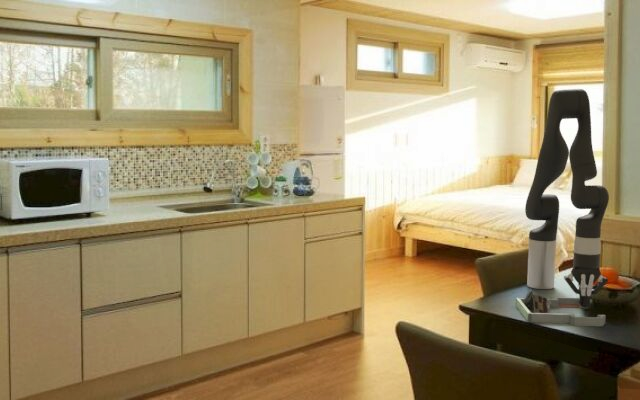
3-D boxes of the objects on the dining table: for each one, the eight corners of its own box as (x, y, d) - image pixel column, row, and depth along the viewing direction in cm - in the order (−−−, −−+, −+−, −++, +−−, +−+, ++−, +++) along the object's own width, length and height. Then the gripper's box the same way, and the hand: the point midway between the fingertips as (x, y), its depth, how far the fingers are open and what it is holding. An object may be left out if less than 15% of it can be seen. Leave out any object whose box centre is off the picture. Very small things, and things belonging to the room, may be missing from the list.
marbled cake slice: (556, 323, 200) (557, 289, 208) (533, 316, 200) (535, 282, 208) (542, 336, 208) (543, 303, 215) (520, 329, 208) (522, 296, 215)
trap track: (514, 303, 220) (514, 296, 219) (584, 305, 218) (584, 297, 217) (529, 324, 197) (530, 315, 197) (607, 326, 195) (608, 318, 195)
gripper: (606, 249, 207) (603, 304, 209) (561, 248, 209) (558, 303, 211) (613, 254, 200) (610, 311, 202) (567, 253, 201) (564, 309, 203)
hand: (584, 307), depth 206 cm, fingers closed
